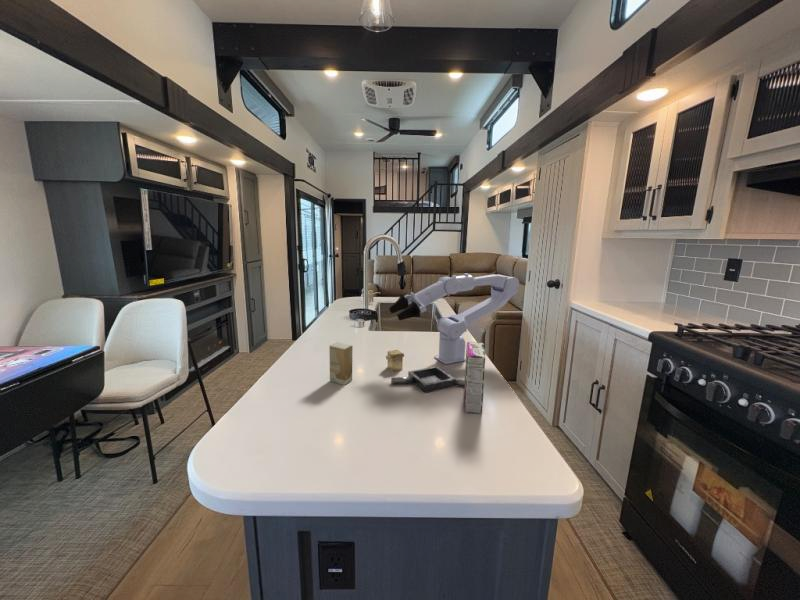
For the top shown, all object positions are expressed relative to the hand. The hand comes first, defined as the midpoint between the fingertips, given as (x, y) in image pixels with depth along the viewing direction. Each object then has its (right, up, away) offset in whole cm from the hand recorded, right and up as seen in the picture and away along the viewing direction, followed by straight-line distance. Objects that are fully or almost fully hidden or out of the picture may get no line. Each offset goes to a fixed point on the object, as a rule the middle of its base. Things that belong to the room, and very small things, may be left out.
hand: (394, 314), depth 111 cm
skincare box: (-17, -21, -7) cm, 28 cm away
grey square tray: (+12, -22, -8) cm, 26 cm away
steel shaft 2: (+22, -22, -10) cm, 33 cm away
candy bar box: (+23, -25, -20) cm, 39 cm away
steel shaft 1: (+3, -22, -9) cm, 24 cm away
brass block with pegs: (0, -19, +3) cm, 20 cm away
